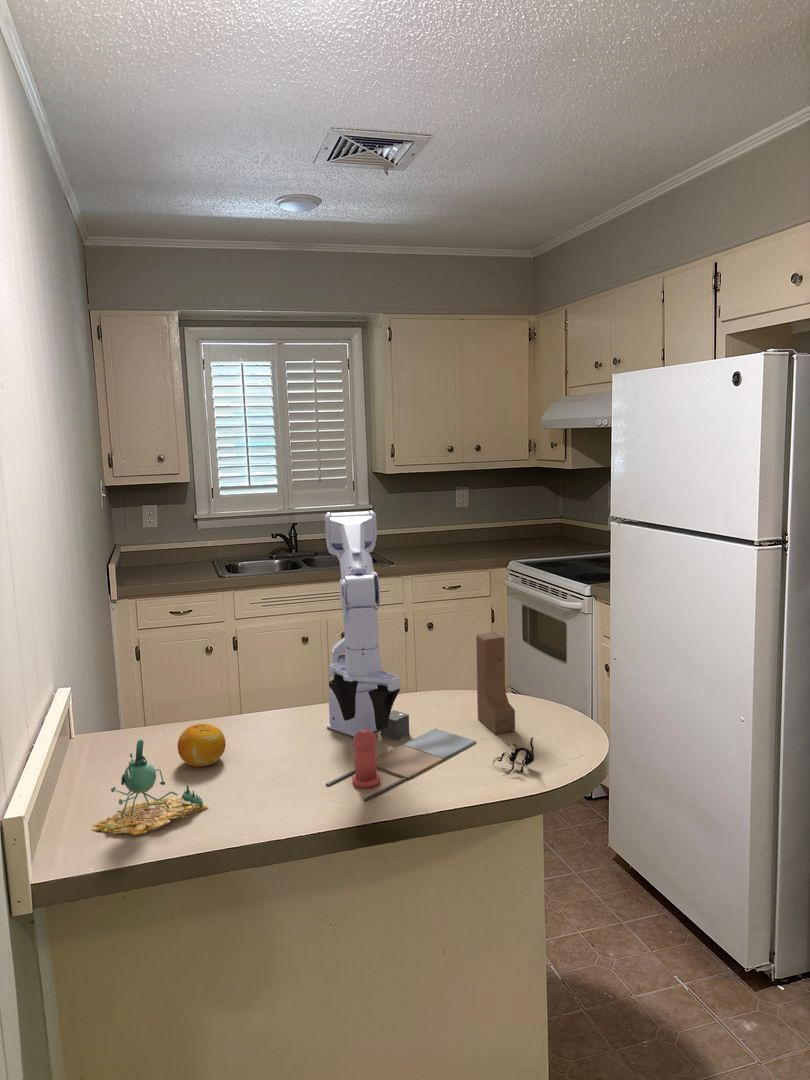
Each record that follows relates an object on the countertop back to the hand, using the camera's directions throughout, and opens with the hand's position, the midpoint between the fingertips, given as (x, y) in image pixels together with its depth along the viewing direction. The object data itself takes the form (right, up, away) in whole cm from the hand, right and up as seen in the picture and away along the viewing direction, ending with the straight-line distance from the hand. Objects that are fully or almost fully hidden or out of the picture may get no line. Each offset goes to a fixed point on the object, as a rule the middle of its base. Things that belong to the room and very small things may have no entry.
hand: (365, 723), depth 135 cm
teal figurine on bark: (-33, -14, -9) cm, 37 cm away
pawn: (0, -11, +2) cm, 11 cm away
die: (+5, -7, +22) cm, 23 cm away
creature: (+26, -9, +6) cm, 28 cm away
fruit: (-31, -10, +12) cm, 34 cm away
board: (+7, -9, +9) cm, 15 cm away
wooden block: (+25, -6, +25) cm, 36 cm away
